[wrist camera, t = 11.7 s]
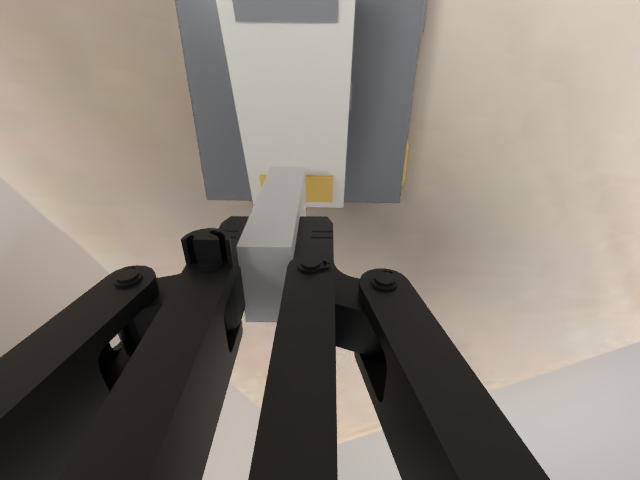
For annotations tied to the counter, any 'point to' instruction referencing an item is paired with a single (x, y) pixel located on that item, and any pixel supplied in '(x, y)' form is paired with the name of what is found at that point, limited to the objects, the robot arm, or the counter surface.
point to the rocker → (292, 88)
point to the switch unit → (364, 106)
